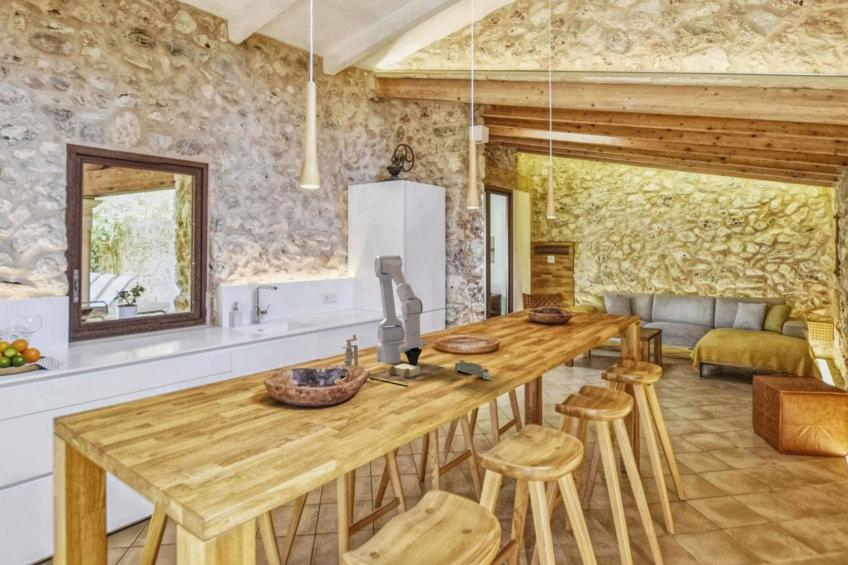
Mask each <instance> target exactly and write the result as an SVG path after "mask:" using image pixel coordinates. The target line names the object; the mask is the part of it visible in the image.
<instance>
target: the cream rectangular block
mask: <svg viewBox="0 0 848 565" xmlns="http://www.w3.org/2000/svg"><path fill="white" fill-rule="evenodd" d="M394 366H395V374H396V375H401V376H404V369H409V370H410V377H411V376H414V375H417V374H420V367H419V366H413V365H408V364H406V363H400V364H396V365H394Z"/></svg>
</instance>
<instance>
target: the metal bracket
mask: <svg viewBox="0 0 848 565" xmlns="http://www.w3.org/2000/svg"><path fill="white" fill-rule="evenodd" d="M482 367H483V366H482V365H481V364H478V363H475V362H468V361H467V362H466V361H465V360H463V359H460V360H459V362H455V365H454V372H455V373H457V374H458V371H460V372H463V373H467V374H470V375H474V376H476V377H480V378H481V377H482V379H483V380H486V381H493V379H492V377H491V375H490V373H489V372H490V371H489V369H487V368H484V369H482Z"/></svg>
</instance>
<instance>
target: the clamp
mask: <svg viewBox="0 0 848 565" xmlns="http://www.w3.org/2000/svg"><path fill="white" fill-rule="evenodd" d="M357 340H358V338H357V335H356V334H352V338H351V337H350V338H348V339H347V338H346V340H345V341H346V344H345V345H342V346H341V349H345V351H344V354H345V355H344V356H345V357H344V361H343V366H342V367H344V366H351V367H352V362H354V363H353V365H354V366H358V367H359V353H358V351H359V350H358V344H352V343H351V342H354V341H357Z"/></svg>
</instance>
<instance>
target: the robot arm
mask: <svg viewBox="0 0 848 565" xmlns="http://www.w3.org/2000/svg"><path fill="white" fill-rule="evenodd" d="M373 265H374V273H375V277H376V278H377V279H378V281H379V288H380V297H381V304H382V314H383V319H382V320H381V321H380V322H379V324H378V325H377V339H378V341H379V342H378V344H377V346H376V362H377V364H379V363H384V364H388V365H389V364H398V363H401V362H402V357H401V356H402V353H404V354H405V356H406V358H407V361H408V363H409V365H413V366H417V363H419V362H418V360H419V357H420V355H421V354H422V352H423V350H422V349H421V348H422V347H427V346H428V341H427V340H424V339H423V340H421V314H422V313H423V311H424V310H423V309H424V307H423V306H424V305H423V302H422V300H421V298H419V297H418V296H416V295H415V293H414V291H413V289H412V286H411V284H409V283H407V282H406V279H405V276H404V273H403V270H402V269H403V259H402V256H401V255H400V254H396V255H394V254H393V255H377V256H376V257H375V259H374V264H373ZM393 282H394V284H395V286H396V291H395V292H396V294H397V296H398V299H399V301H400V302H401V307H400V310H401V313H402V320H403V321H404V323H403V321H401V320H400V319H398V318H397V314H396V305H395V297H394V288H393ZM403 341H404V343H403ZM402 343H403V344H402Z"/></svg>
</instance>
